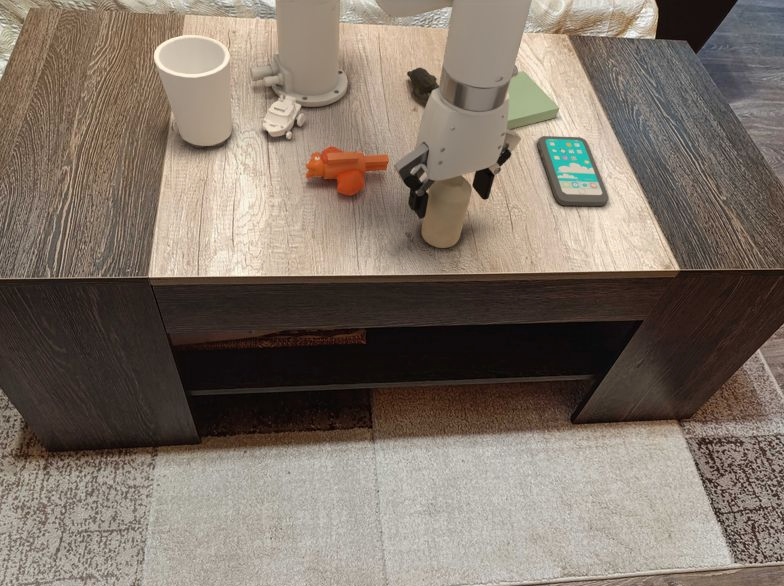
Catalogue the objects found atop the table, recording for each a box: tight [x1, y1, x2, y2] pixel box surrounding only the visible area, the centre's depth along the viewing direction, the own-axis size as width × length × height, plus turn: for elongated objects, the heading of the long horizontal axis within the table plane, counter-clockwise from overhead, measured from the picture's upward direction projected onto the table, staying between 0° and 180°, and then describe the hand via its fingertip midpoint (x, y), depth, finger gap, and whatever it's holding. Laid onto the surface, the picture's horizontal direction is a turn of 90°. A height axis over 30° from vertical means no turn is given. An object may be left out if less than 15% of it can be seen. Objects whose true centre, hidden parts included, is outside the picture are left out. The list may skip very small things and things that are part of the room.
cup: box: [153, 34, 233, 149], centre depth 88 cm, size 10×10×13 cm
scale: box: [506, 70, 560, 130], centre depth 104 cm, size 13×12×4 cm
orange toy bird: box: [305, 145, 390, 197], centre depth 89 cm, size 5×8×12 cm
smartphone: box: [537, 135, 609, 207], centre depth 97 cm, size 9×1×15 cm
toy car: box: [261, 95, 305, 140], centre depth 94 cm, size 5×8×4 cm, turn 160°
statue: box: [406, 66, 439, 104], centre depth 100 cm, size 6×6×20 cm
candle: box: [421, 175, 473, 249], centre depth 83 cm, size 6×6×10 cm
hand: (448, 202), depth 81 cm, fingers open, 9 cm apart
